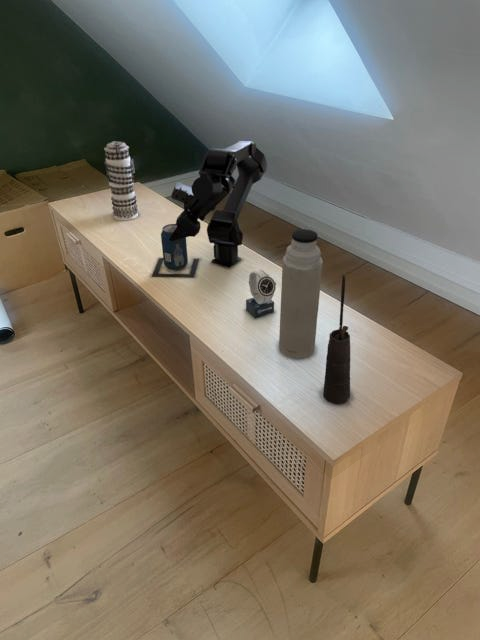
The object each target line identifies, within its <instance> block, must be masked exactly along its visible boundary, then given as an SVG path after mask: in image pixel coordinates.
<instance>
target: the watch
mask: <svg viewBox="0 0 480 640" xmlns="http://www.w3.org/2000/svg"><path fill="white" fill-rule="evenodd" d="M248 286H249V292H250V294H251V296H252V297H250V298H246V300H245V312H247V313H248V314H249V315H251V317H253V319H258V318H261V317H264V316H267V315H270V314H273V313H275V301H274V300H272V299H273V297H274V295H275V292H276V289H277V288H276V287H277V282H276V281H275V280H274V278H272V277H271V275H270V274H269V273H267V272H266V271H264V269H258V270H254V271H251V272H250V273H249V276H248Z"/></svg>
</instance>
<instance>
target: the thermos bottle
mask: <svg viewBox="0 0 480 640" xmlns="http://www.w3.org/2000/svg"><path fill="white" fill-rule="evenodd" d="M291 238H292V239H291V244H290V245H288V246H287V248H286V251H285V255H284V256H283V257H282V266H281V267H282V270H281V291H280V314H279V315H280V316H279V337H278V350H279V351H280V353H281V354H282V355H283V356H285V357H287V358H289V359H293V360H294V359H295V360H302V359H307V358H309V357H311V356H312V355H313V354H314V352H315V348H316V337H317V336H316V335H317V325H318V315H319V305H320V297H321V296H320V294H321V284H322V274H323V273H322V272H323V264H324V263H323V262H324V260H323V258H322V257H321V255H322V252H321V249H320V248H319V246H317V240H318V233H317V232H316V231H315V230H312V229H307V228H305V229H303V228H302V229H296V230H294V231H293V232H292V233H291Z"/></svg>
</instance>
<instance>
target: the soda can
mask: <svg viewBox="0 0 480 640" xmlns="http://www.w3.org/2000/svg"><path fill="white" fill-rule="evenodd" d="M176 227H177V224H176V223H169V224H166V225H164V226H163V227H162V229H161V232H160V241H161V247H162V248H161V249H162V258H163V265H164V267H165V268H166V269H167V270H168V271H170V272H171V271H172V272H178V271H183V270H184V269H185V268H186V267H187V265H188V263H189V260H188V259H189V258H188V247H187V246H188V245H187V237H186V238H182V239H179V240H175V241H172V242H171V241H170V240H169V237H170V236H171V234H172V233H173V231H174V230H175V228H176Z"/></svg>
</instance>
